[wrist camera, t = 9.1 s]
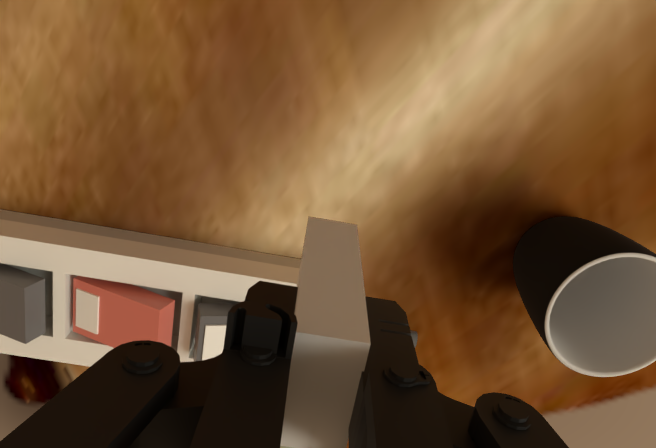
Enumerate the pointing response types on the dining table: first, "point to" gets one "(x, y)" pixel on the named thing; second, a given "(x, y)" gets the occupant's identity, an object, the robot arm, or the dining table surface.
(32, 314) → the rocker
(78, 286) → the rocker mid
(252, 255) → the strip
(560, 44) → the dining table surface
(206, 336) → the rocker
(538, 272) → the mug
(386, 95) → the dining table surface
